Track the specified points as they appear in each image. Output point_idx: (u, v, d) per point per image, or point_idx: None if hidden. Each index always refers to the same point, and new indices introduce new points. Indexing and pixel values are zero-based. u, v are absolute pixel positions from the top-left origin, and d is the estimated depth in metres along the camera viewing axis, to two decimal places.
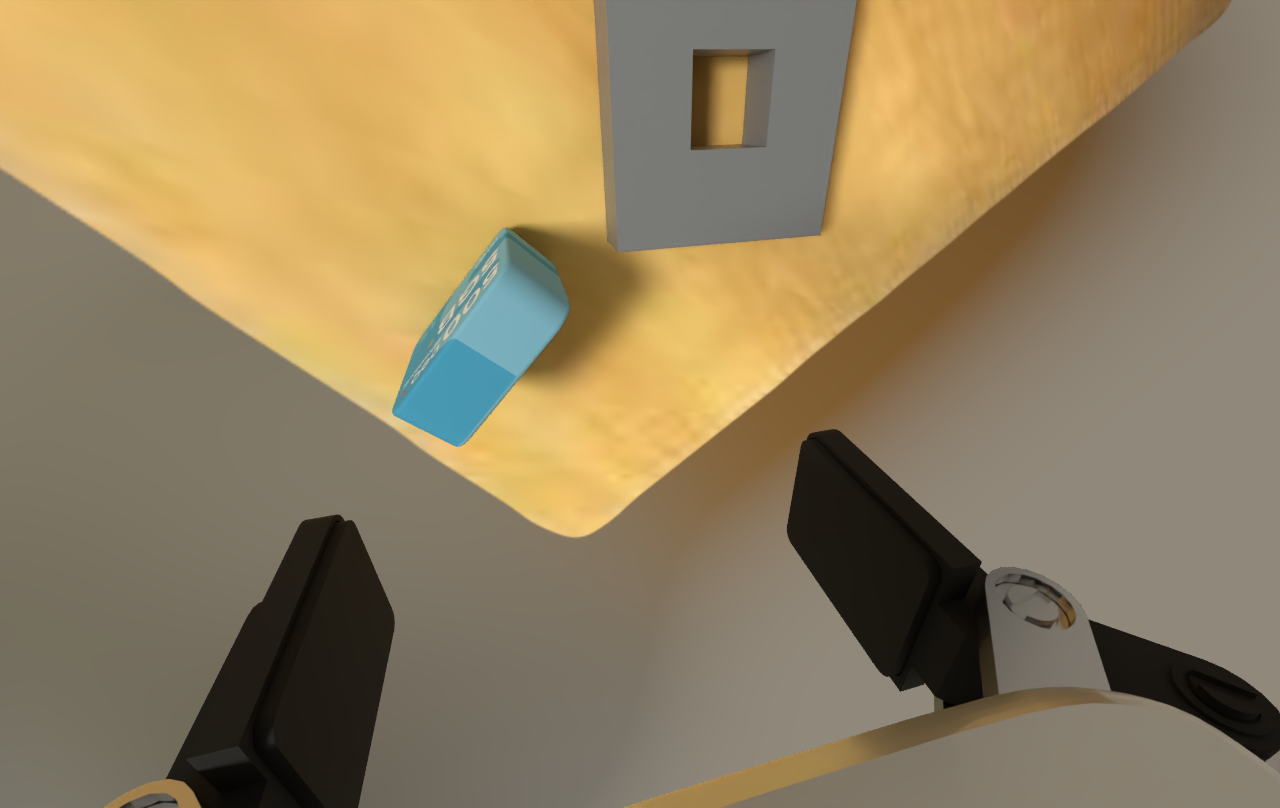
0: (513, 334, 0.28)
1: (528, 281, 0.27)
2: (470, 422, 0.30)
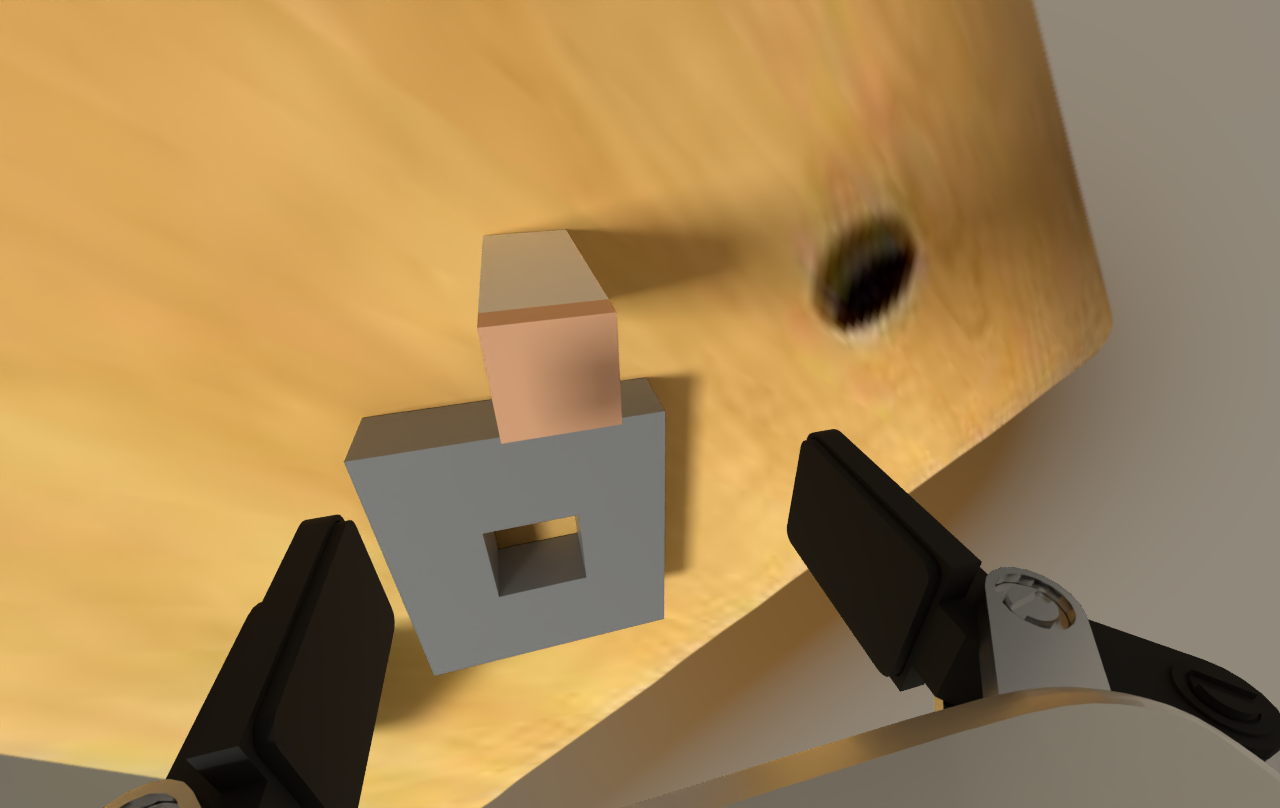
0: None
1: None
2: None
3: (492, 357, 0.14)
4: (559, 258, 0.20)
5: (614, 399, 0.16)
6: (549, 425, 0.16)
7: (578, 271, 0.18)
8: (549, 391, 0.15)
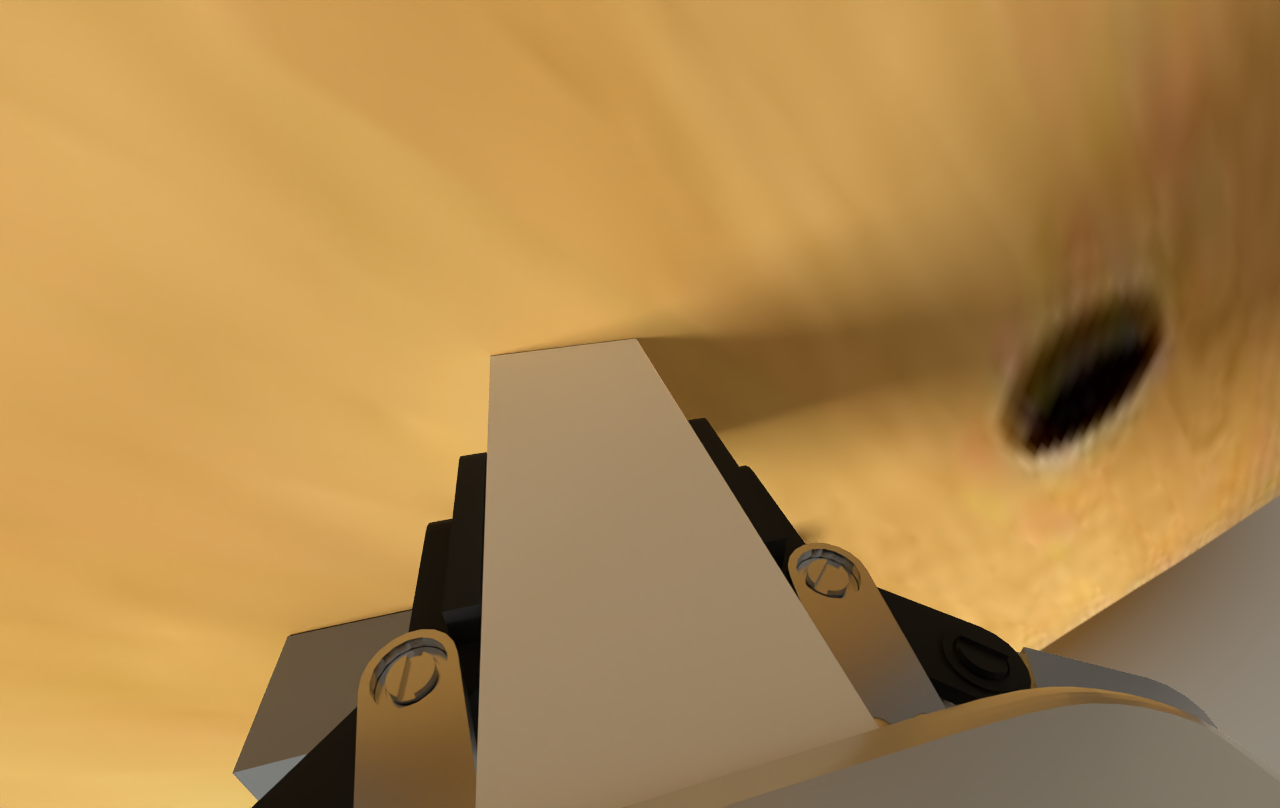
0: None
1: None
2: None
3: None
4: (655, 453, 0.09)
5: None
6: None
7: (721, 528, 0.07)
8: None
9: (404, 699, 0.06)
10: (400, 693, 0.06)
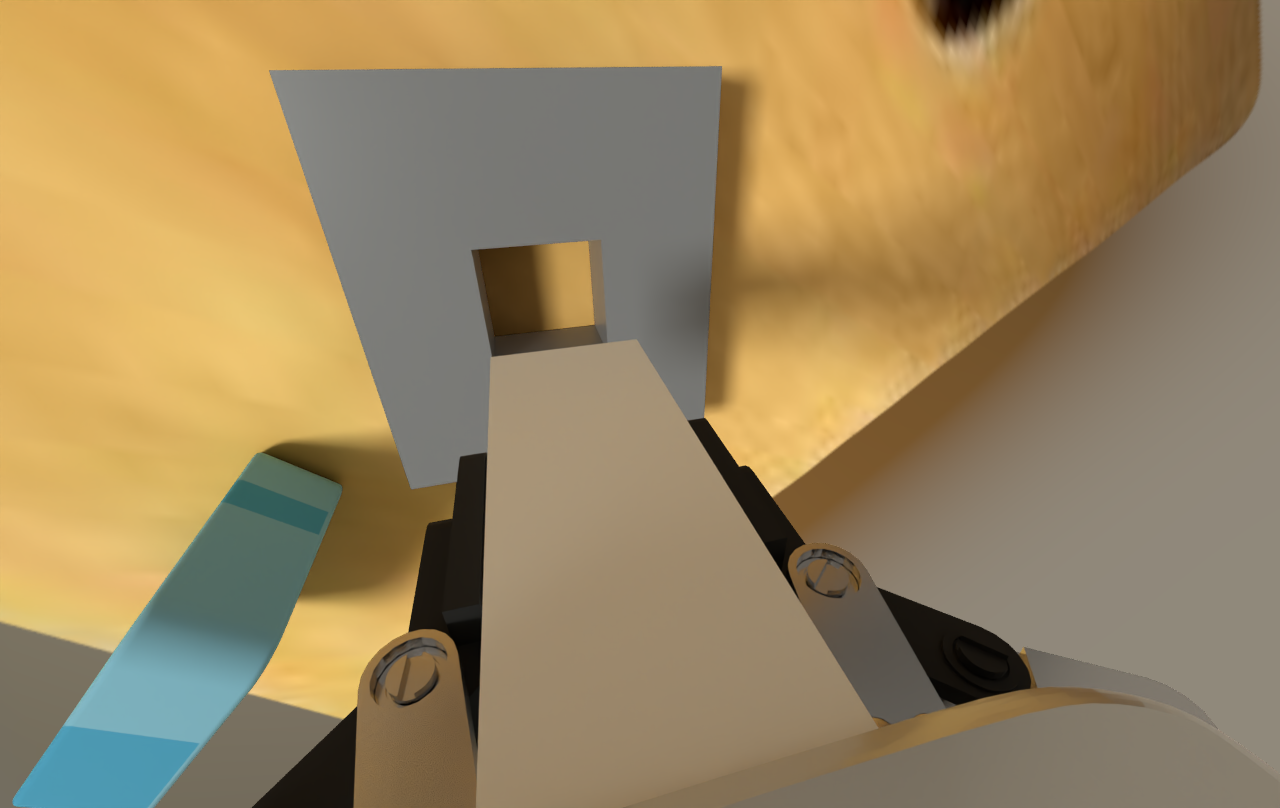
0: (173, 705, 0.18)
1: (184, 635, 0.18)
2: (144, 797, 0.20)
3: None
4: (656, 454, 0.09)
5: None
6: None
7: (722, 531, 0.07)
8: None
9: (404, 699, 0.06)
10: (400, 693, 0.06)
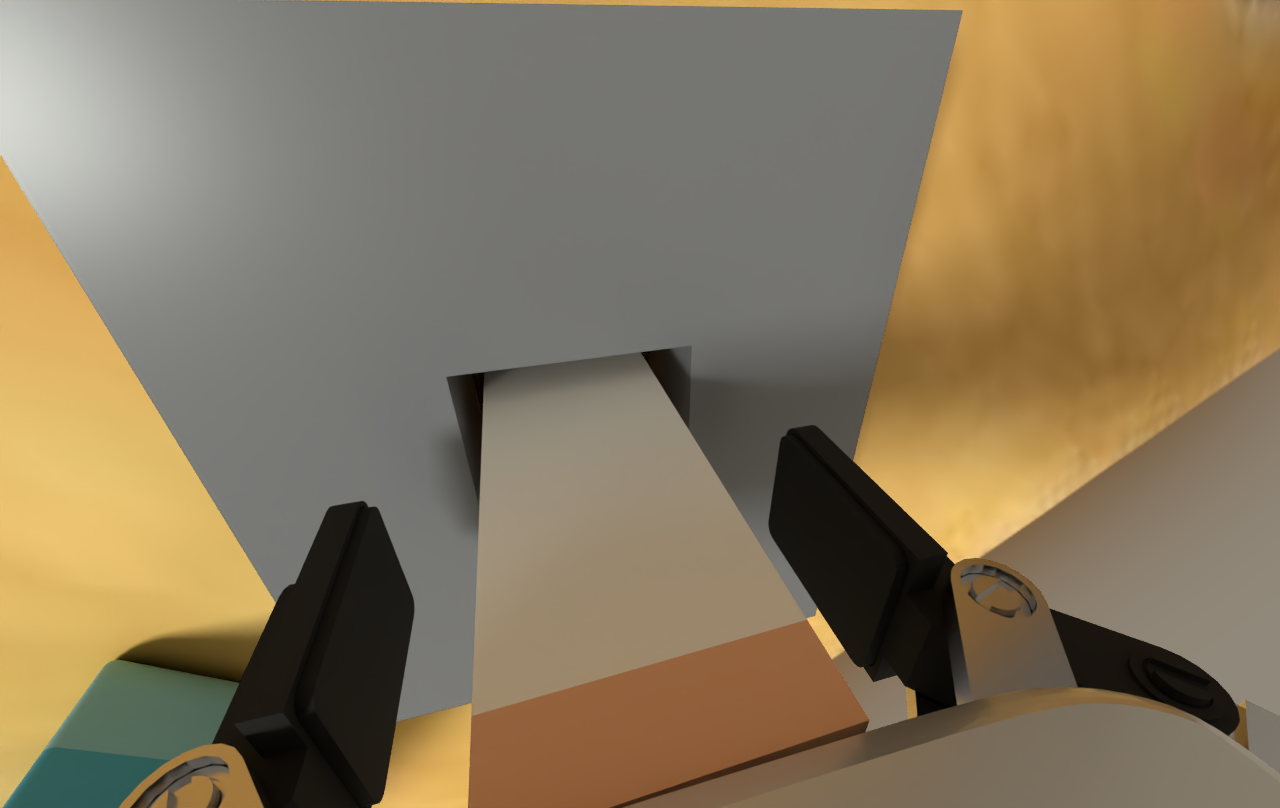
0: None
1: None
2: None
3: None
4: (630, 412, 0.10)
5: None
6: None
7: (683, 467, 0.09)
8: None
9: None
10: None
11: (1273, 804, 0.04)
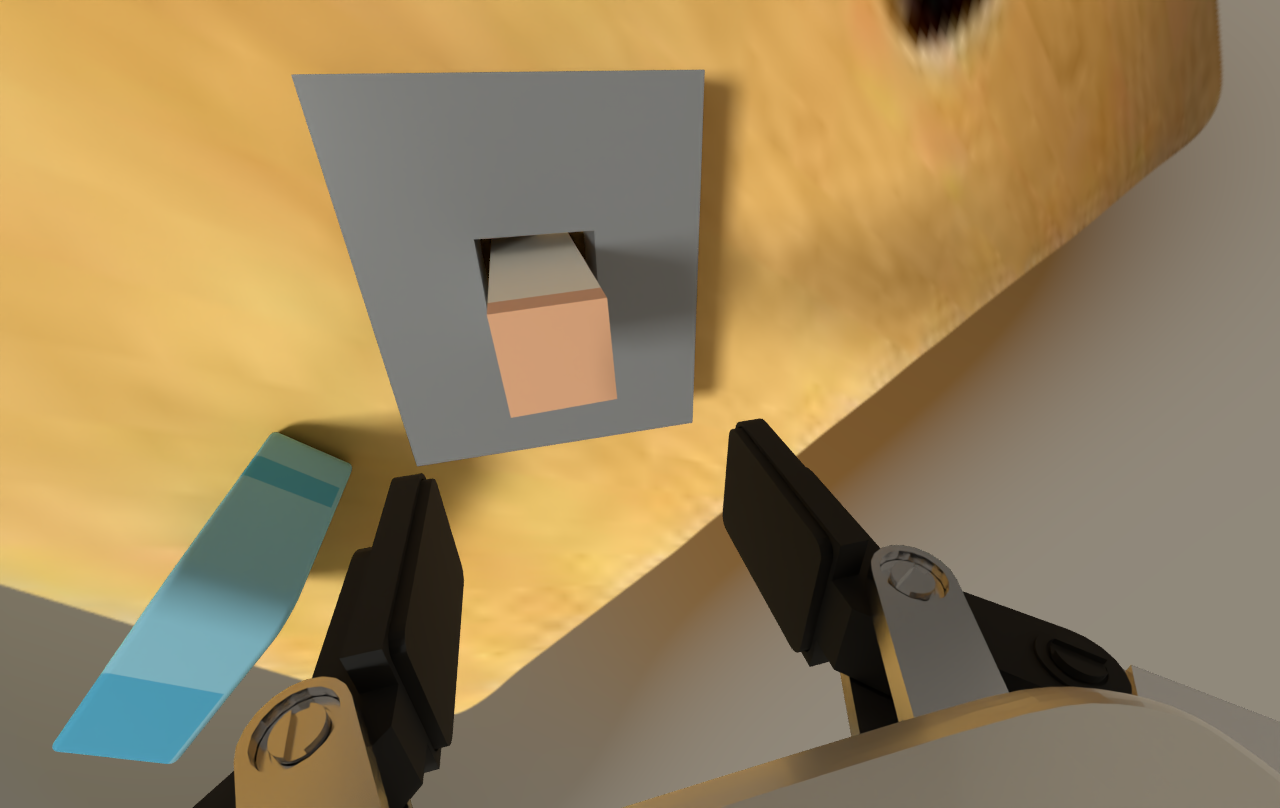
0: (201, 656, 0.20)
1: (212, 590, 0.20)
2: (171, 745, 0.22)
3: (500, 340, 0.17)
4: (559, 255, 0.22)
5: (609, 376, 0.18)
6: (552, 400, 0.18)
7: (575, 266, 0.20)
8: (551, 370, 0.18)
9: (293, 758, 0.06)
10: (287, 752, 0.06)
11: (1273, 804, 0.04)
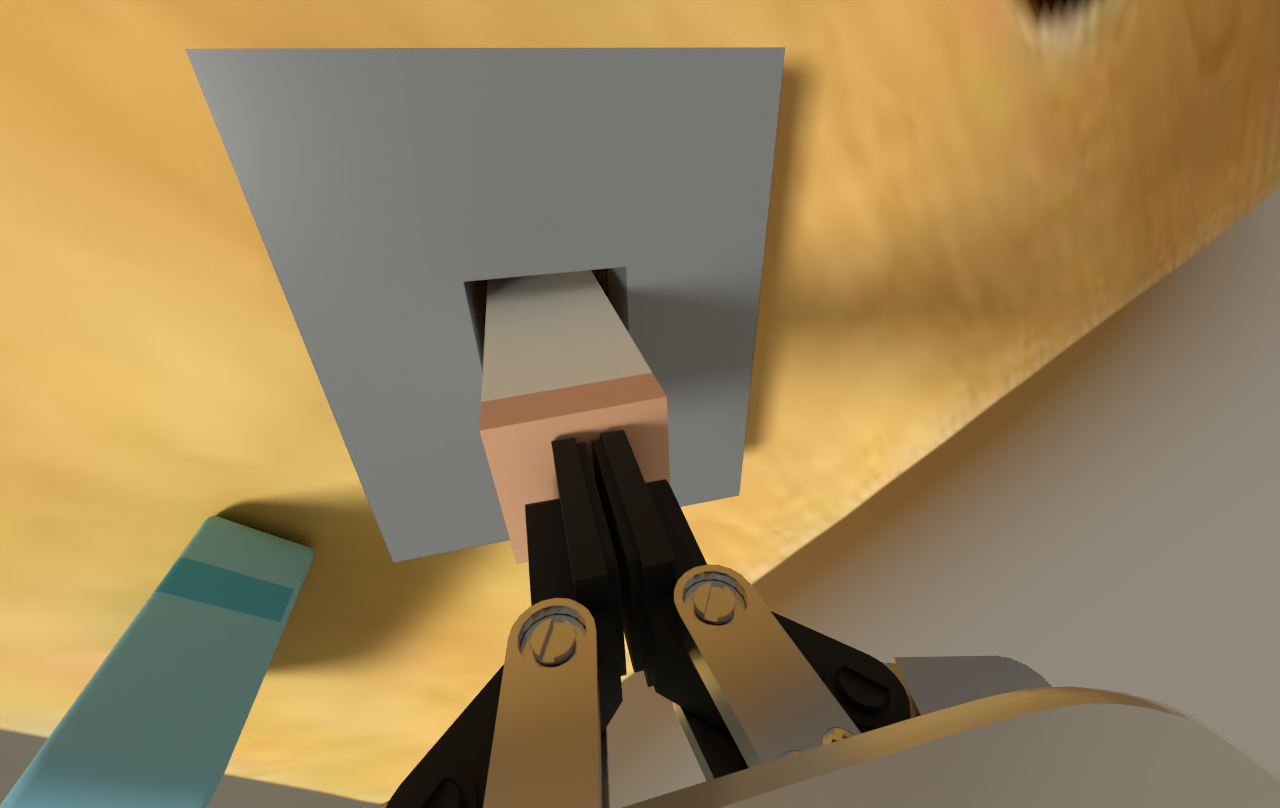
0: None
1: (85, 796, 0.14)
2: None
3: (501, 464, 0.11)
4: (581, 304, 0.16)
5: None
6: None
7: (606, 326, 0.14)
8: None
9: (543, 659, 0.07)
10: (541, 653, 0.07)
11: (1272, 803, 0.04)
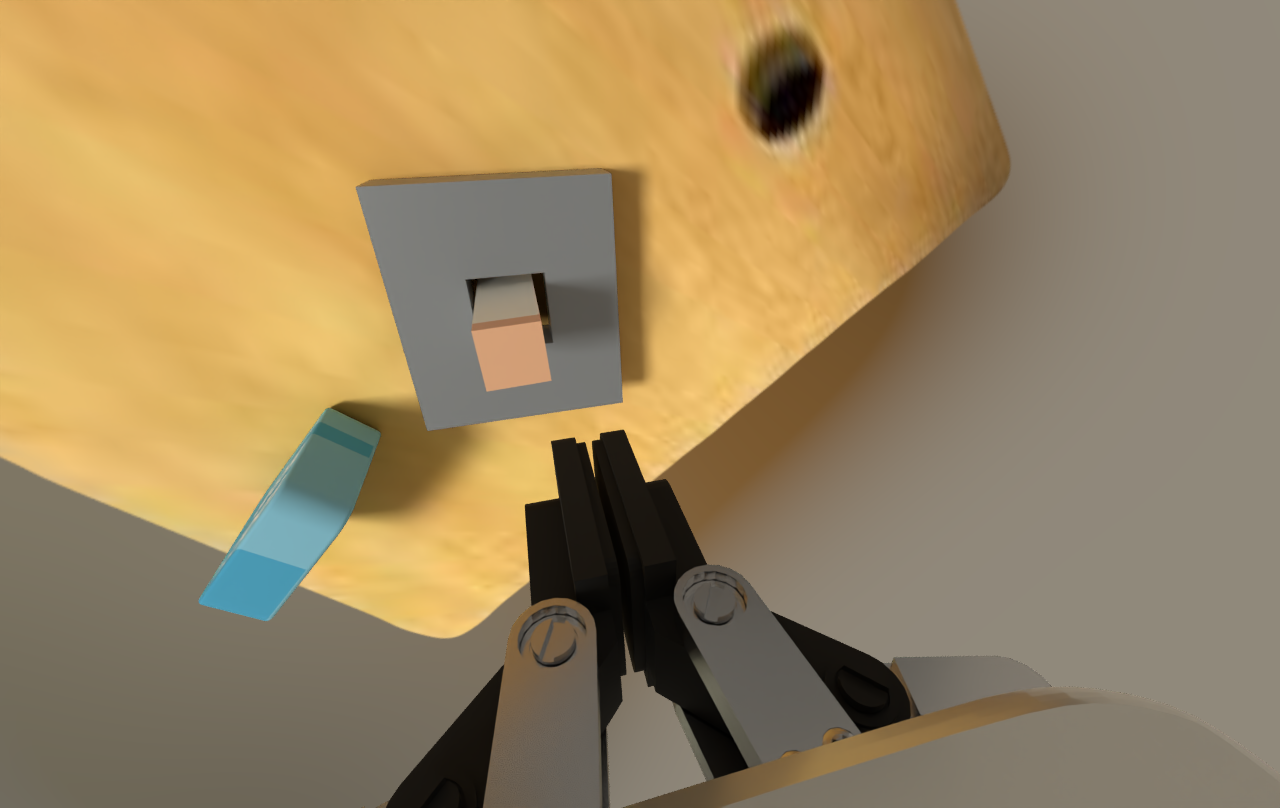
0: (295, 541, 0.32)
1: (303, 498, 0.32)
2: (270, 605, 0.34)
3: (479, 345, 0.29)
4: (520, 290, 0.34)
5: (545, 366, 0.30)
6: (511, 381, 0.30)
7: (528, 298, 0.33)
8: (509, 363, 0.30)
9: (544, 659, 0.07)
10: (542, 653, 0.07)
11: (1273, 804, 0.04)
